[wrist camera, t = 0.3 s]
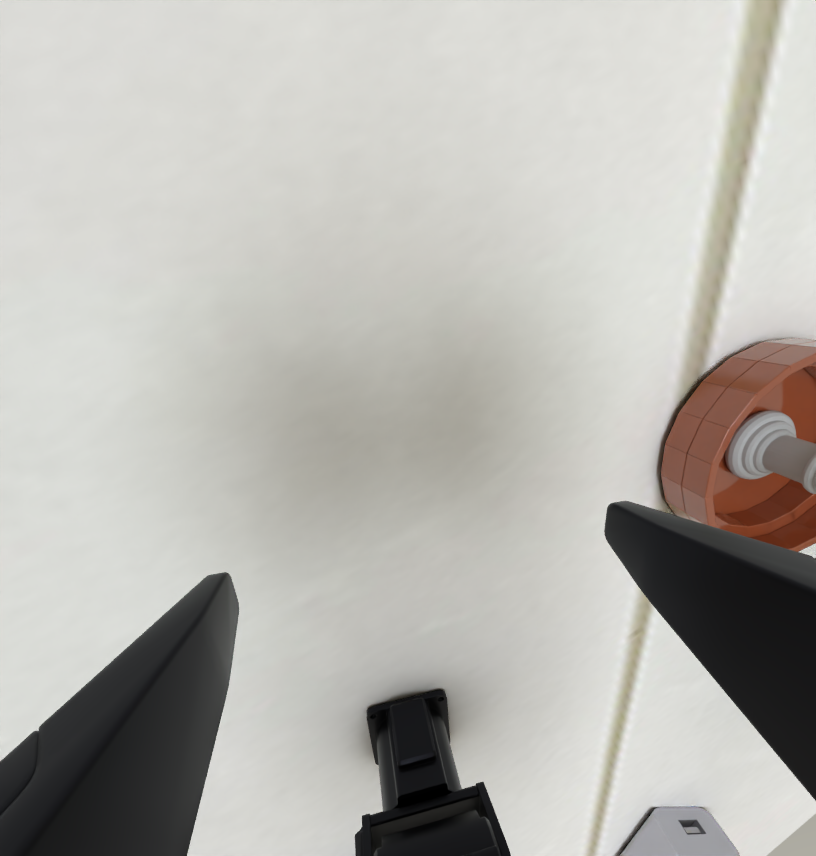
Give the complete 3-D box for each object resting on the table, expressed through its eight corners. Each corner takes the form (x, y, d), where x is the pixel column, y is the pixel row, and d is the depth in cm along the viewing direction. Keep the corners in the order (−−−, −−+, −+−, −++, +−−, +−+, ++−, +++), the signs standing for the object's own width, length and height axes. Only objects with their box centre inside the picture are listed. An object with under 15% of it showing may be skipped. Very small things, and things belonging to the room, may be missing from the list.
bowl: (804, 510, 33) (865, 537, 29) (645, 544, 30) (689, 578, 27) (860, 326, 27) (943, 331, 24) (673, 351, 25) (732, 361, 21)
